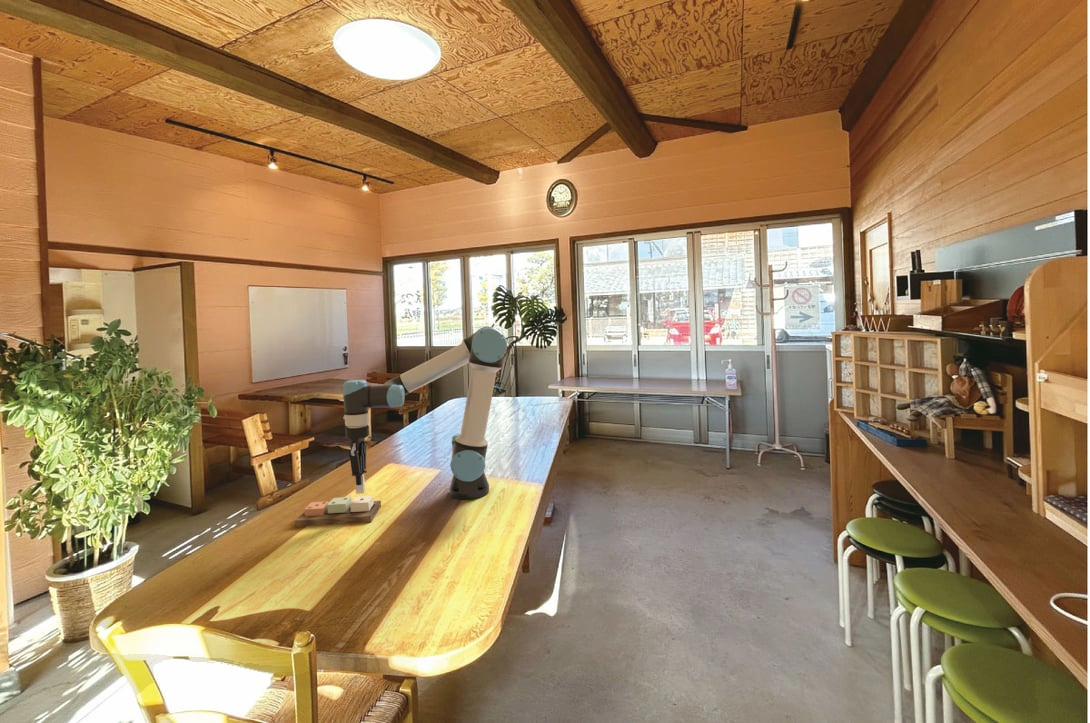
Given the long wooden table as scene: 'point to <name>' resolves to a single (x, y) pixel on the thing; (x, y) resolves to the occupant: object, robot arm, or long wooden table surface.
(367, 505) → the button one cream
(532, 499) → the long wooden table surface
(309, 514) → the button three terracotta
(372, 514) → the brown wooden tray
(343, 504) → the button two sage
